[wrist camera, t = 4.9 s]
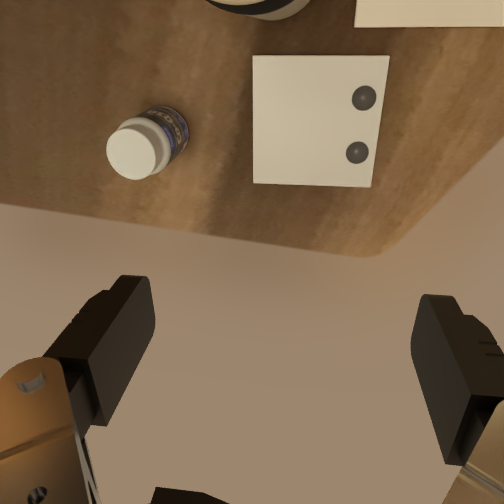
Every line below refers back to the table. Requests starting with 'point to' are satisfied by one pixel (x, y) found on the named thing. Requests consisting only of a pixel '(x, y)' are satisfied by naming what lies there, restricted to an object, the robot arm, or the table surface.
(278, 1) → the travel mug
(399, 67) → the table surface
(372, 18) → the one-dot pad
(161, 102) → the table surface
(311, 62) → the two-dot pad
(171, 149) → the pill bottle
